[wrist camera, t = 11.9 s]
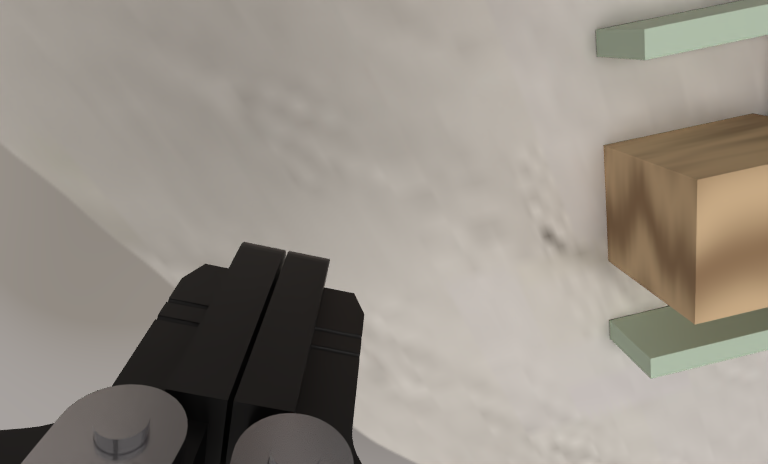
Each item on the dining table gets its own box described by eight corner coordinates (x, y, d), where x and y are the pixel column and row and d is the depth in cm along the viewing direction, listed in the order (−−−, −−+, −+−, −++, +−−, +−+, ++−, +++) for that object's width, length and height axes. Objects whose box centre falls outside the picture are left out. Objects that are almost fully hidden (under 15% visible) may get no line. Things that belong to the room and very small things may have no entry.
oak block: (603, 145, 35) (697, 179, 27) (751, 113, 36) (888, 137, 28) (607, 260, 38) (694, 324, 30) (745, 228, 39) (869, 283, 30)
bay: (595, 30, 33) (644, 29, 28) (798, -12, 34) (878, -19, 29) (610, 338, 40) (650, 378, 35) (776, 298, 41) (837, 332, 36)
